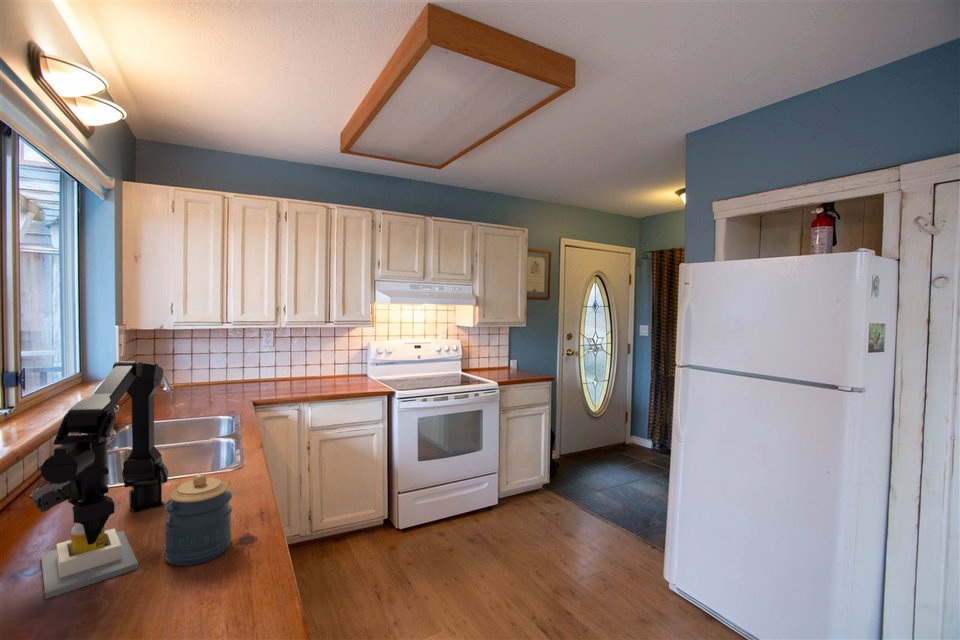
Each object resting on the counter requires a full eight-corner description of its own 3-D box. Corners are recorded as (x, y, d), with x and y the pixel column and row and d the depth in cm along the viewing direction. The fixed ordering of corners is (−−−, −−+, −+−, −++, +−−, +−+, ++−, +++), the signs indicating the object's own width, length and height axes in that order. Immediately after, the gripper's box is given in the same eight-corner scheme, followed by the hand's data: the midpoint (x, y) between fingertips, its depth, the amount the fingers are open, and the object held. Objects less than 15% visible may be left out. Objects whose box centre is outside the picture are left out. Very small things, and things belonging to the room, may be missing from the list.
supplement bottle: (77, 554, 95) (76, 511, 95) (108, 548, 98) (107, 506, 97) (67, 567, 91) (66, 522, 90) (100, 561, 93) (99, 516, 93)
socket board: (123, 535, 105) (123, 518, 105) (137, 568, 93) (138, 549, 93) (41, 558, 95) (41, 539, 95) (45, 599, 83) (45, 577, 83)
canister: (222, 530, 110) (223, 460, 109) (238, 552, 100) (240, 476, 100) (159, 549, 101) (159, 473, 100) (170, 575, 91) (171, 492, 91)
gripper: (34, 461, 94) (34, 532, 94) (37, 489, 81) (37, 571, 82) (102, 450, 102) (102, 515, 103) (115, 473, 89) (114, 548, 90)
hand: (89, 536), depth 94 cm, fingers open, 8 cm apart
